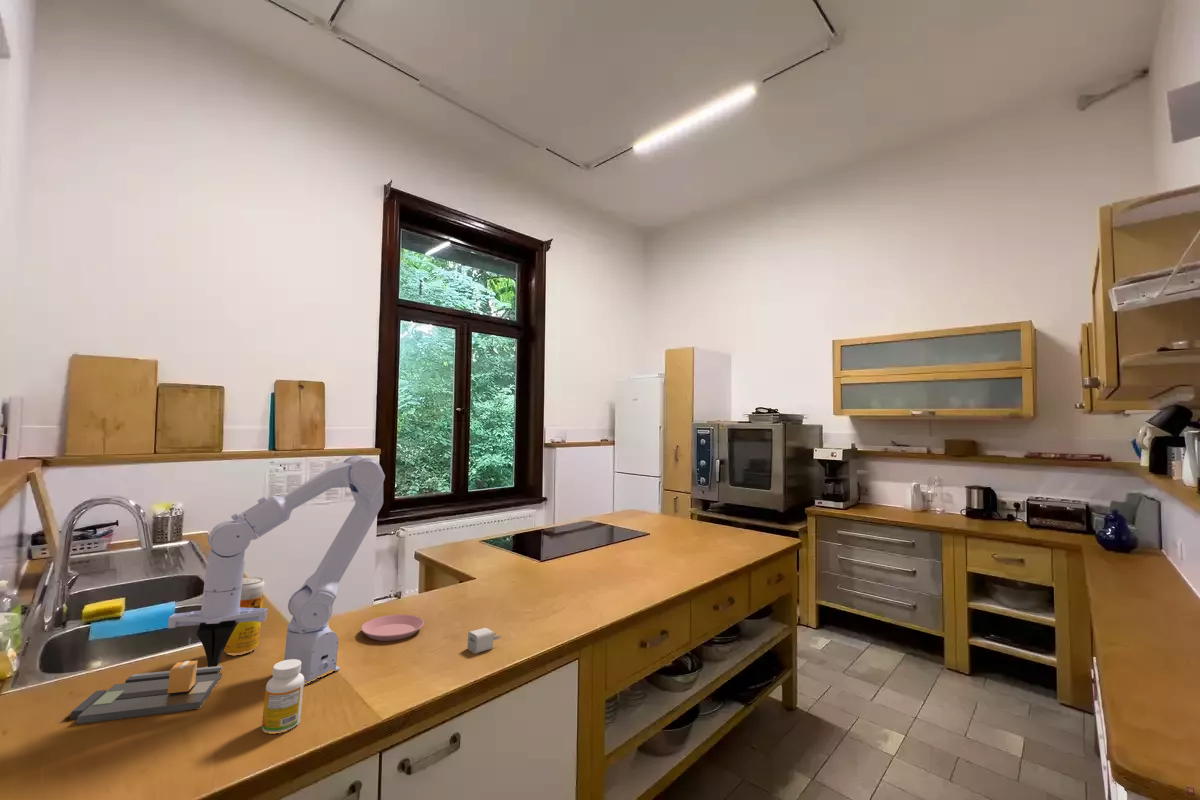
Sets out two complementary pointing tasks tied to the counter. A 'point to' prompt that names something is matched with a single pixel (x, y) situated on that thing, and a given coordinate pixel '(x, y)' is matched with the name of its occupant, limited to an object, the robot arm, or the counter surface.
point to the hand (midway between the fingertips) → (213, 664)
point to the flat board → (139, 678)
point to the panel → (147, 699)
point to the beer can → (249, 632)
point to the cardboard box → (182, 676)
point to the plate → (392, 627)
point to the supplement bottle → (283, 697)
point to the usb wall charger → (481, 640)
